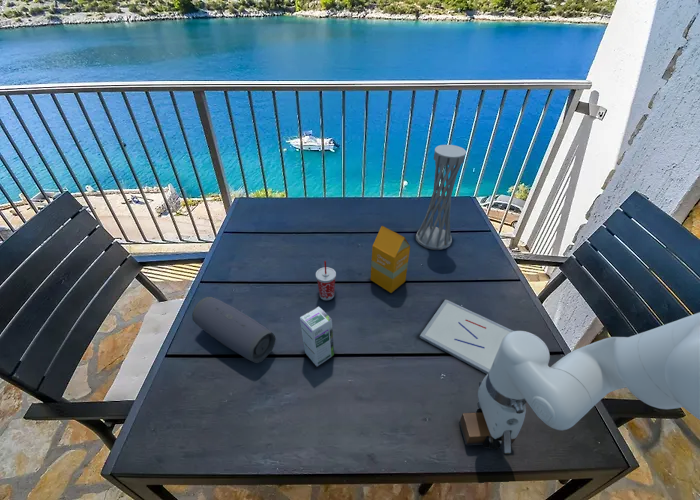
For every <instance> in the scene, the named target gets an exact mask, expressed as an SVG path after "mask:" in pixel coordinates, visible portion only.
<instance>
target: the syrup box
mask: <svg viewBox="0 0 700 500" xmlns="http://www.w3.org/2000/svg"><path fill="white" fill-rule="evenodd" d="M299 324H300V330H301V335H302V343H303V349H304V353H305V354H306V356H307V357H308V358H309V359H310V361H311V362H312V363H313V364H314V365H315V366H316V367H319V366H320V365H322V364H323V363H325V362H326V361H328V360H329V359H330V358H332V357H333V356H335V348H334V346H335V345H334V333H333V332H334V331H333V319H332V318H331V316H329V315H328V313H326V312H325V310H323V309H322V308H321V307H320V306H317V307H315V308H314V309H312V310H310V311H308V312H307V313H305V314H303V315H301V316H300V317H299Z"/></svg>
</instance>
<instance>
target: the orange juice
mask: <svg viewBox="0 0 700 500" xmlns="http://www.w3.org/2000/svg"><path fill="white" fill-rule="evenodd" d="M374 239H375V240H374V241H373V244H372V245H371V246H372V247H371V259H370V281H371V282H372V283H375V284H376V285H378V286H379V287H381V288H382V289H384V290H386V291H387V292H389V293H390V294H392V293H393V292H395V290H397V289H398V288H400V287H401V286H402V285H404V283H405V282H406V279H407V273H408V267H409V259H410V253H411V252H410V251H411V245H410V243H409V241H408V240H407V238H406V236H403V235H402V234H399V233H398V232H395V231H394V230H392V229H390V228H388V227H386V226H384V225H381V226H380V228H379V231H378V233H377V235H376V237H375V238H374Z"/></svg>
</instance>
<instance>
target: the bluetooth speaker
mask: <svg viewBox="0 0 700 500" xmlns="http://www.w3.org/2000/svg"><path fill="white" fill-rule="evenodd" d="M191 318H192V322H193V323H194V324H196V326H198V327H199V328H200V329H201V330H203V331H204V332H205V333H207V335H209V336H210V337H211V338H213V339H215V340H216V341H217V342H218V343H219V344H221V345H222V346H224V347H226V348H228V349H230V350H231V351H232V352H234V353H236V354H238V355H240V356H242V357H243V358H245V359H246V360H248V361H251V362H252V363H255V364H259V363H261V362H263V361H264V360H265V359H266V358H267V357H268V356H269V355H270V354H271V353H272V351H273V350H274V347H275V345H276V335H275V333H273V332H272V330H270V329H269V328H267V327H265V326H264V325H263V324H261V322H258V321H257V320H255V319H254V318H252V317H250V316H249V315H247V314H246V313H244V312H242V311H241V310H239V309H237V308H235V307H234V306H232V305H230V304H228V303H226V302H224V301H222V300H220V299H219V298H215V297H213V296H206V297H203V298H201V299H200V300H199V301H198V302H197V303H196V305H195V306H194V308H193V310H192V317H191Z"/></svg>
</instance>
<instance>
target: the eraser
mask: <svg viewBox="0 0 700 500" xmlns="http://www.w3.org/2000/svg"><path fill="white" fill-rule="evenodd" d="M459 426H460V429H461V433H462V436H463V440H464V444H465V446H483V443H484V441H485V439H486V437H487V436H489V433H490V432H489V429H488V426H487V423H486V420H485V418H484V415H483V413H476V412H463V413H462V414H461V416H460V419H459ZM510 439H511V437H510ZM516 439H517V437H516V438H515V439H511V445H513V444H514V442H515V440H516Z"/></svg>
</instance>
